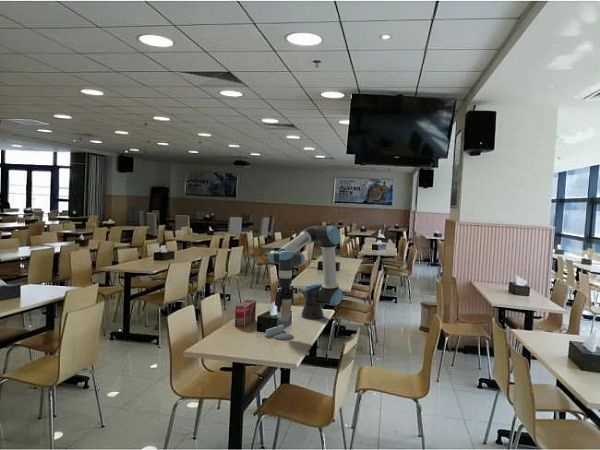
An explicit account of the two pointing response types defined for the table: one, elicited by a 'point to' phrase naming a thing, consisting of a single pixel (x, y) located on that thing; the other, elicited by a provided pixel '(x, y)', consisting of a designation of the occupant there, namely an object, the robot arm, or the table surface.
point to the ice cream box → (245, 313)
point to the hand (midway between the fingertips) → (283, 316)
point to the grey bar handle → (274, 330)
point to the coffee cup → (286, 306)
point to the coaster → (283, 336)
